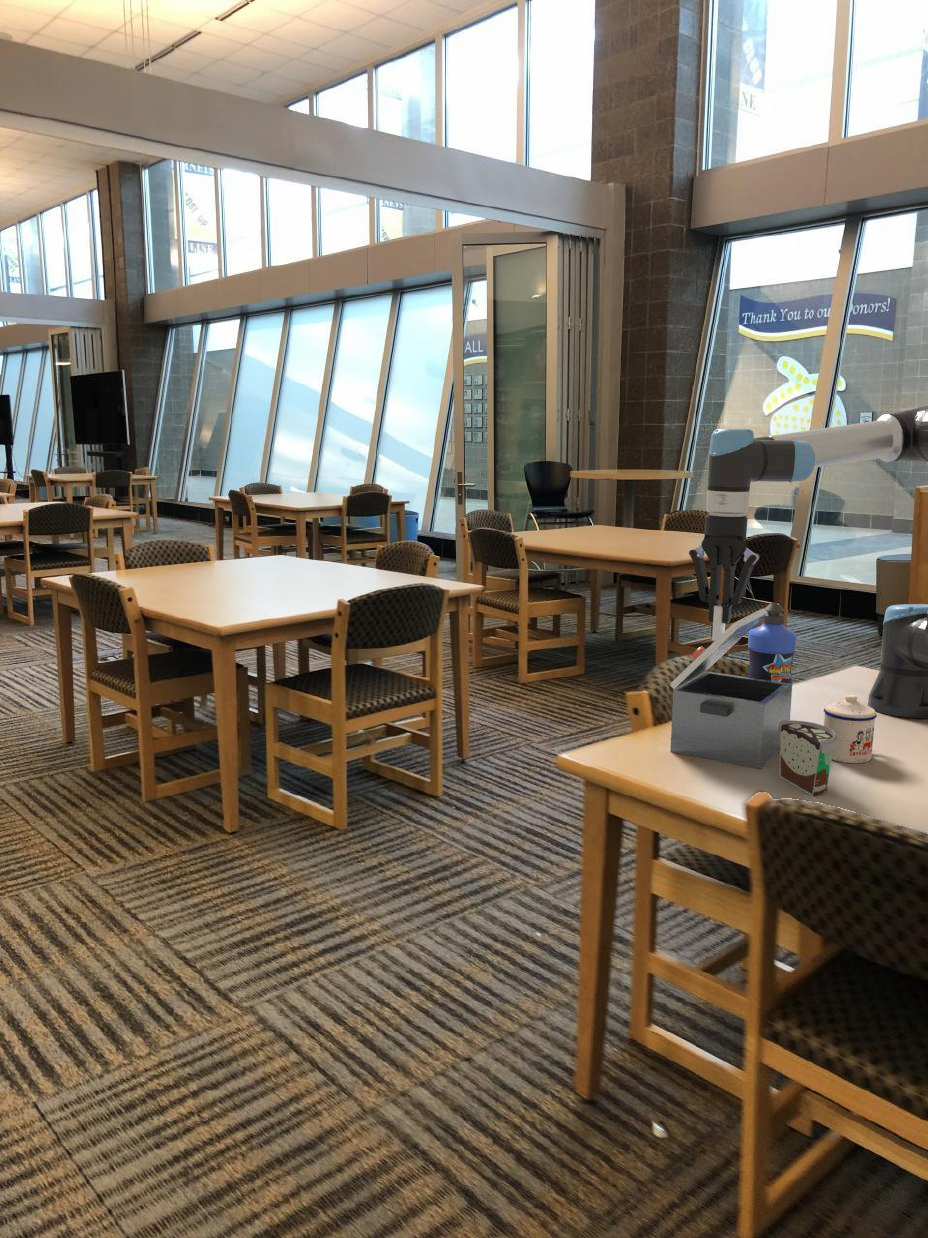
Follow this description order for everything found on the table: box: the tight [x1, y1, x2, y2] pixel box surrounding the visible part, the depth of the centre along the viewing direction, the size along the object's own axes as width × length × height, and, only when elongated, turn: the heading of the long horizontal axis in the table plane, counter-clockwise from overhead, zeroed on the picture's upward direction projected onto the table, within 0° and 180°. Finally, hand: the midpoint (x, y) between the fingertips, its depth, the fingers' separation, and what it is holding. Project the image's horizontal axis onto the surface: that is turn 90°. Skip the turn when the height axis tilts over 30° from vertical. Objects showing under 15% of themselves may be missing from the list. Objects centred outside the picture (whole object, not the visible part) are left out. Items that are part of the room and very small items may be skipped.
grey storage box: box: [670, 670, 793, 770], centre depth 183 cm, size 17×21×12 cm
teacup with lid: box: [823, 694, 878, 764], centre depth 179 cm, size 12×9×12 cm
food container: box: [778, 719, 838, 797], centre depth 164 cm, size 12×6×10 cm, turn 17°
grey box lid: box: [669, 608, 768, 690], centre depth 182 cm, size 17×18×3 cm
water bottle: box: [747, 602, 798, 720], centre depth 197 cm, size 9×9×25 cm
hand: (718, 639), depth 182 cm, fingers closed
